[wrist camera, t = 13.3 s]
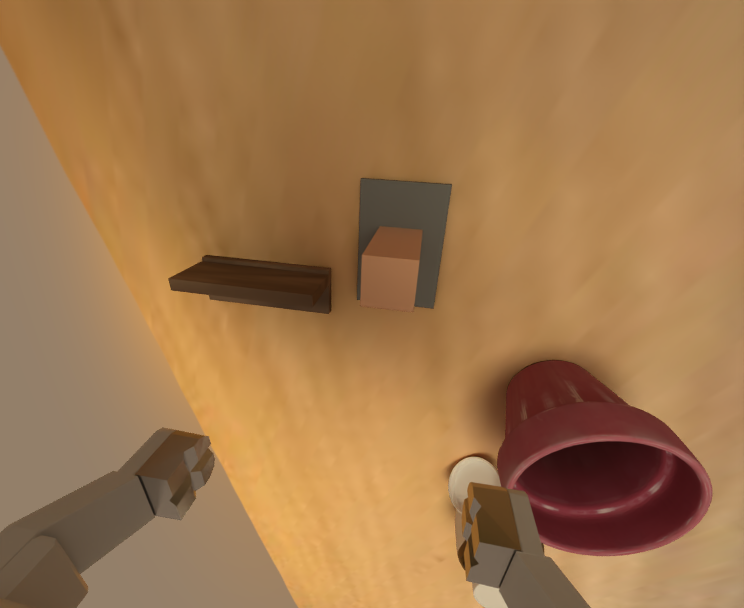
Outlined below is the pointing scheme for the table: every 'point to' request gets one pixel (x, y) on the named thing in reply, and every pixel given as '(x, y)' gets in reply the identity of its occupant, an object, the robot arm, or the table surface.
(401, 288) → the terracotta block
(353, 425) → the table surface
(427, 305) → the charcoal mat
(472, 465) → the spread jar
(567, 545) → the plant pot
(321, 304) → the brown wooden stand
